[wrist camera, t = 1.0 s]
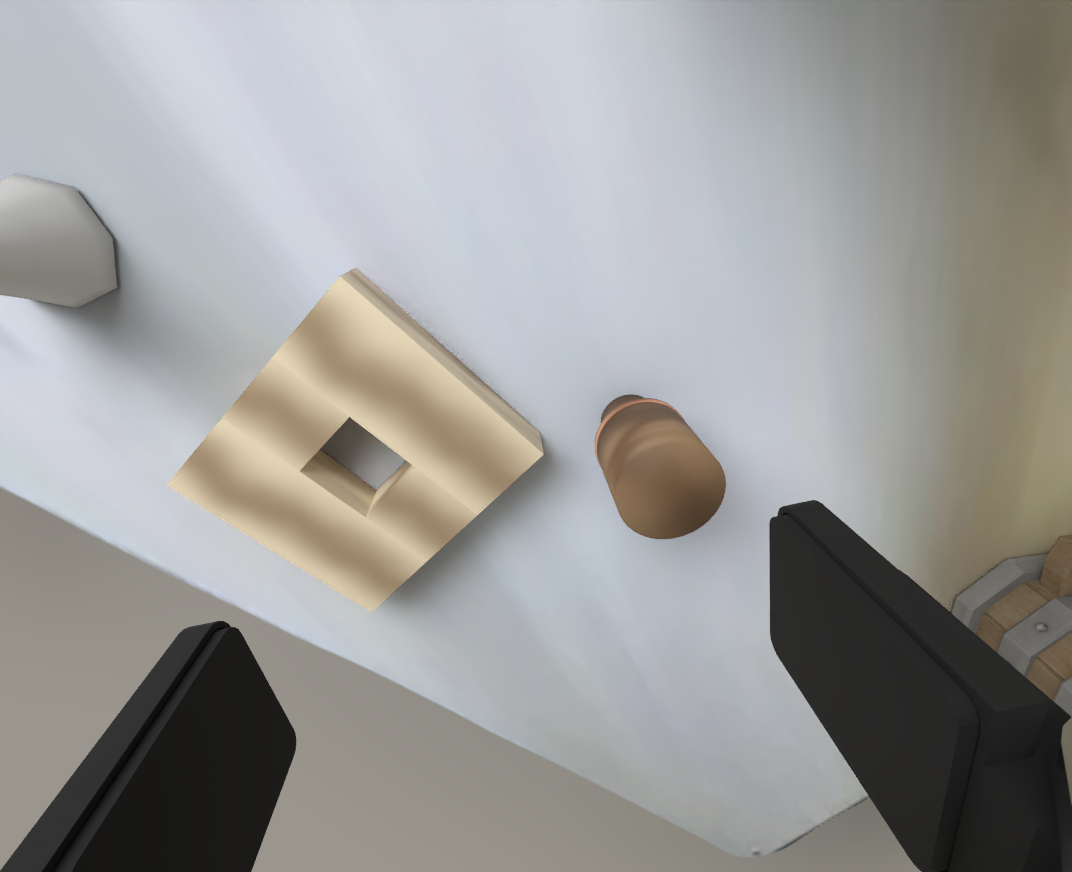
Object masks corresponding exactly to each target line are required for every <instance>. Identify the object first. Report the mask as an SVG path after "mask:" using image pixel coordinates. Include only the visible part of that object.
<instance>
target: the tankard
mask: <svg viewBox="0 0 1072 872" xmlns="http://www.w3.org/2000/svg"><path fill="white" fill-rule="evenodd" d="M952 614H953V615H954V616H955V617H956V618H957V619H958V620H960V621H961V622H962V623H963V624H964V625H965V626H967V627H968V628H969V629H970V630H971V631H972V632H974V633H975V634H976V635H977V636H978V637H979V638H981V639H982V640H983V641H984V642H985V643H986V644H988V645H989V646H990V647H991V648H992V649H993V650H995V651H996V652H997V653H998V654H999V655H1000V656H1001V657H1003V658H1004V659H1005V660H1006V661H1007V662H1008V663H1010V664H1011V665H1012V666H1013V667H1014V668H1015V669H1017V670H1018V671H1019V672H1020V673H1021V674H1022V675H1024V676H1025V677H1026V678H1027V679H1028V680H1029V681H1031V682H1032V683H1033V684H1034V685H1035V686H1036V687H1038V688H1039V689H1040V690H1041V691H1042V692H1043V693H1044V694H1046V695H1047V696H1048V697H1049V698H1050V699H1051V700H1053V701H1054V702H1055V703H1056V704H1057V705H1058V706H1060V707H1061V708H1062V709H1063V710H1064V711H1065V712H1067V713H1068V714H1069V715H1070V716H1071V717H1072V535H1066V536H1060V537H1059V538H1058V540H1057V541H1056V543H1055V544H1054V546H1053V547H1052V549H1051V550H1050V552H1049V553H1047V554H1040V555H1033V556H1026V557H1019V558H1013V559H1006V560H1004V561H1003V562H1001V563H1000V564H999V565H997V566H996V567H995V568H993V569H992V570H991V571H989V572H988V573H987V574H985V575H984V576H983V577H981V578H980V579H979V580H977V581H976V582H975V583H973V584H972V585H971V586H969V587H968V588H967V589H965V590H964V591H963V592H961V593H960V594H959V595H957V596H956V599H955V603H954V606H953V609H952Z"/></svg>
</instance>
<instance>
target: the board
mask: <svg viewBox="0 0 1072 872" xmlns="http://www.w3.org/2000/svg"><path fill="white" fill-rule="evenodd" d="M349 417H350V418H352V419H353V420H354V421H355V422H357V423H358V424H359V425H361V426H362V427H363V428H365V429H366V430H367V431H368V432H370V433H371V434H372V435H374V436H375V437H376V438H378V439H379V440H380V441H382V442H383V443H384V444H385V445H387V446H388V447H389V448H391V449H392V450H393V451H395V452H396V453H397V454H398V455H400V456H401V457H402V458H404V459H405V460H406V462H405V463H404V464H403V465H402V466H401V467H400V468H399V469H398V470H397V471H396V472H395V473H394V474H393V475H392V476H391V477H390V478H389V479H388V480H387V481H386V482H385V483H384V484H383V485H382V486H381V487H380V488H379V489H378V490H377V491H376V490H375V489H374V488H372V487H371V486H369V485H368V484H367V483H365V482H364V481H363V480H361V479H360V478H358V477H357V476H356V475H354V474H353V473H352V472H350V471H349V470H347V469H346V468H345V467H343V466H342V465H340V464H339V463H338V462H336V461H335V460H334V459H332V458H331V457H329V456H328V455H327V454H325V453H324V452H323V451H321V450H320V448H321V447H322V446H323V445H324V444H325V443H326V442H327V441H328V440H329V439H330V437H331V436H332V435H333V434H334V433H335V432H336V431H337V430H338V429H339V428H340V427H341V426H342V424H343V423H344V422H345V421H346V420H347V419H348V418H349ZM543 455H544V452H543V446H542V441H541V436H540V432H539V431H538V430H537V429H536V428H535V427H533V426H532V425H531V424H530V423H529V422H528V421H527V420H526V419H525V418H523V417H522V416H521V415H520V414H519V413H518V412H517V411H516V410H514V409H513V408H512V407H511V406H510V405H509V404H508V403H507V402H505V401H504V400H503V399H502V398H501V397H500V396H499V395H498V394H497V393H495V392H494V391H493V390H492V389H491V388H490V387H489V386H488V385H486V384H485V383H484V382H483V381H482V380H481V379H480V378H479V377H477V376H476V375H475V374H474V373H473V372H472V371H471V370H470V369H468V368H467V367H466V366H465V365H464V364H463V363H462V362H461V361H460V360H458V359H457V358H456V357H455V356H454V355H453V354H452V353H451V352H449V351H448V350H447V349H446V348H445V347H444V346H443V345H442V344H440V343H439V342H438V341H437V340H436V339H435V338H434V337H433V336H431V335H430V334H429V333H428V332H427V331H426V330H425V329H424V328H423V327H421V326H420V325H419V324H418V323H417V322H416V321H415V320H414V319H412V318H411V317H410V316H409V315H408V314H407V313H406V312H405V311H403V310H402V309H401V308H400V307H399V306H398V305H397V304H396V303H395V302H393V301H392V300H391V299H390V298H389V297H388V296H387V295H386V294H384V293H383V292H382V291H381V290H380V289H379V288H378V287H377V286H375V285H374V284H373V283H372V282H371V281H370V280H369V279H368V278H366V277H365V276H364V275H363V274H362V273H361V272H360V271H359V270H358V269H356V268H354V269H352V270H351V271H349V272H347V273H345V274H343V275H341V276H339V278H338V279H337V280H336V281H335V283H334V284H333V285H332V286H331V287H330V289H329V290H328V291H327V292H326V293H325V295H324V296H323V297H322V298H321V299H320V301H319V302H318V303H317V304H316V305H315V307H314V308H313V309H312V310H311V311H310V313H309V314H308V315H307V316H306V317H305V319H304V320H303V321H302V322H301V324H300V325H299V326H298V327H297V328H296V330H295V331H294V332H293V333H292V334H291V336H290V337H289V338H288V339H287V340H286V342H285V343H284V344H283V345H282V346H281V348H280V349H279V350H278V351H277V352H276V354H275V355H274V356H273V357H272V359H271V360H270V361H269V362H268V363H267V365H266V366H265V367H264V368H263V369H262V371H261V372H260V373H259V374H258V375H257V377H256V378H255V379H254V380H253V381H252V383H251V384H250V385H249V386H248V387H247V389H246V390H245V391H244V392H243V393H242V395H241V396H240V397H239V398H238V400H237V401H236V402H235V403H234V404H233V406H232V407H231V408H230V409H229V410H228V412H227V413H226V414H225V415H224V416H223V418H222V419H221V420H220V421H219V422H218V424H217V425H216V426H215V427H214V428H213V430H212V431H211V432H210V433H209V434H208V436H207V437H206V438H205V439H204V441H203V442H202V443H201V444H200V445H199V447H198V448H197V449H196V450H195V451H194V453H193V454H192V455H191V456H190V457H189V459H188V460H187V461H186V462H185V463H184V465H183V466H182V467H181V468H180V469H179V471H178V472H177V473H176V474H175V476H174V477H173V478H172V479H171V480H170V482H169V483H168V484H167V486H169V487H170V488H172V489H174V490H175V491H177V492H178V493H180V494H182V495H183V496H185V497H186V498H188V499H190V500H191V501H193V502H194V503H196V504H198V505H199V506H201V507H203V508H204V509H206V510H207V511H209V512H211V513H212V514H214V515H215V516H217V517H219V518H220V519H222V520H223V521H225V522H227V523H228V524H230V525H232V526H233V527H235V528H236V529H238V530H240V531H241V532H243V533H244V534H246V535H248V536H249V537H251V538H252V539H254V540H256V541H257V542H259V543H261V544H262V545H264V546H265V547H267V548H269V549H270V550H272V551H273V552H275V553H277V554H278V555H280V556H281V557H283V558H285V559H286V560H288V561H289V562H291V563H293V564H294V565H296V566H298V567H299V568H301V569H302V570H304V571H306V572H307V573H309V574H310V575H312V576H314V577H315V578H317V579H318V580H320V581H322V582H323V583H325V584H327V585H328V586H330V587H331V588H333V589H335V590H336V591H338V592H339V593H341V594H343V595H344V596H346V597H347V598H349V599H351V600H352V601H354V602H355V603H357V604H359V605H360V606H362V607H364V608H365V609H367V610H368V611H370V612H372V611H373V610H374V609H375V608H377V607H378V606H379V605H380V604H381V603H382V602H383V601H384V600H385V599H386V598H387V597H389V596H390V595H391V594H392V593H393V592H394V591H395V590H396V589H397V588H398V587H400V586H401V585H402V584H403V583H404V582H405V581H406V580H407V579H408V578H409V577H410V576H412V575H413V574H414V573H415V572H416V571H417V570H418V569H419V568H420V567H421V566H422V565H424V564H425V563H426V562H427V561H428V560H429V559H430V558H431V557H432V556H433V555H434V554H436V553H437V552H438V551H439V550H440V549H441V548H442V547H443V546H444V545H445V544H447V543H448V542H449V541H450V540H451V539H452V538H453V537H454V536H455V535H456V534H457V533H459V532H460V531H461V530H462V529H463V528H464V527H465V526H466V525H467V524H468V523H469V522H471V521H472V520H473V519H474V518H475V517H476V516H477V515H478V514H479V513H480V512H482V511H483V510H484V509H485V508H486V507H487V506H488V505H489V504H490V503H491V502H492V501H494V500H495V499H496V498H497V497H498V496H499V495H500V494H501V493H502V492H503V491H504V490H506V489H507V488H508V487H509V486H510V485H511V484H512V483H513V482H514V481H515V480H516V479H518V478H519V477H520V476H521V475H522V474H523V473H524V472H525V471H526V470H527V469H529V468H530V467H531V466H532V465H533V464H534V463H535V462H536V461H537V460H538V459H539V458H541V457H542V456H543Z"/></svg>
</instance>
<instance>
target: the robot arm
mask: <svg viewBox="0 0 1072 872" xmlns="http://www.w3.org/2000/svg"><path fill="white" fill-rule="evenodd" d="M770 636H771V641H772V644H773V647H774V649H775V652H776V654H777V655H778V657H779V659H780V660H781V662H782V663H783V665H784V666H785V668H786V670H787V671H788V673H789V674H790V676H791V677H792V679H793V680H794V682H795V683H796V685H797V686H798V688H799V689H800V691H801V693H802V694H803V696H804V697H805V699H806V700H807V702H808V703H809V705H810V706H811V708H812V709H813V711H814V712H815V714H816V716H817V717H818V719H819V720H820V722H821V723H822V725H823V726H824V728H825V729H826V731H827V732H828V734H829V735H830V737H831V739H832V740H833V742H834V743H835V745H836V746H837V748H838V749H839V751H840V752H841V754H842V755H843V757H844V758H845V760H846V762H847V763H848V765H849V766H850V768H851V769H852V771H853V772H854V774H855V775H856V777H857V778H858V780H859V781H860V783H861V785H862V786H863V788H864V789H865V791H866V792H867V794H868V795H869V797H870V798H871V800H872V801H873V803H874V804H875V806H876V808H877V809H878V811H879V812H880V814H881V815H882V817H883V818H884V820H885V821H886V823H887V824H888V826H889V827H890V829H891V830H892V832H893V834H894V835H895V837H896V838H897V840H898V841H899V843H900V844H901V846H902V847H903V849H904V850H905V852H906V854H907V855H908V857H909V858H910V859H911V861H912V862H913V863H914V865H915V866H916V867H917V868H918V869H919V870H920V871H922V872H1072V717H1071V716H1070V715H1069V714H1068V713H1067V712H1065V711H1064V710H1063V709H1062V708H1061V707H1060V706H1058V705H1057V704H1056V703H1055V702H1054V701H1053V700H1051V699H1050V698H1049V697H1048V696H1047V695H1046V694H1044V693H1043V692H1042V691H1041V690H1040V689H1039V688H1038V687H1036V686H1035V685H1034V684H1033V683H1032V682H1031V681H1029V680H1028V679H1027V678H1026V677H1025V676H1024V675H1022V674H1021V673H1020V672H1019V671H1018V670H1017V669H1015V668H1014V667H1013V666H1012V665H1011V664H1010V663H1008V662H1007V661H1006V660H1005V659H1004V658H1003V657H1001V656H1000V655H999V654H998V653H997V652H996V651H995V650H993V649H992V648H991V647H990V646H989V645H988V644H986V643H985V642H984V641H983V640H982V639H981V638H979V637H978V636H977V635H976V634H975V633H974V632H972V631H971V630H970V629H969V628H968V627H967V626H965V625H964V624H963V623H962V622H961V621H960V620H958V619H957V618H956V617H955V616H954V615H953V614H952V613H950V612H949V611H948V610H947V609H946V608H945V607H943V606H942V605H941V604H940V603H939V602H938V601H936V600H935V599H934V598H933V597H932V596H931V595H929V594H928V593H927V592H926V591H925V590H924V589H922V588H921V587H920V586H919V585H918V584H917V583H915V582H914V581H913V580H912V579H911V578H910V577H909V576H907V575H906V574H904V573H903V572H901V571H900V570H898V569H897V568H896V567H894V566H893V565H892V564H891V563H890V562H889V561H888V560H886V559H885V558H884V557H883V556H882V555H881V554H879V553H878V552H877V551H876V550H875V549H874V548H873V547H871V546H870V545H869V544H868V543H867V542H866V541H864V540H863V539H862V538H861V537H860V536H859V535H858V534H856V533H855V532H854V531H853V530H852V529H851V528H849V527H848V526H847V525H846V524H845V523H844V522H842V521H841V520H840V519H839V518H838V517H837V516H836V515H834V514H833V513H832V512H831V511H830V510H829V509H827V508H826V507H825V506H824V505H823V504H822V503H820V502H818V501H815V500H812V501H807V502H802V503H797V504H792V505H787V506H783V507H781V508H780V509H779V511H778V516H776V517H773V518H771V520H770ZM295 750H296V735H295V731H294V729H293V727H292V725H291V724H290V722H289V720H288V718H287V716H286V714H285V713H284V711H283V709H282V707H281V705H280V703H279V701H278V700H277V698H276V696H275V694H274V692H273V690H272V689H271V687H270V685H269V683H268V681H267V680H266V678H265V676H264V674H263V672H262V670H261V668H260V667H259V665H258V663H257V661H256V659H255V657H254V656H253V654H252V652H251V650H250V648H249V646H248V645H247V643H246V641H245V639H244V637H243V636H242V634H241V632H240V631H239V629H237V628H235V627H230V625H229V624H228V623H226V622H224V621H217V622H213V623H207V624H203V625H197V626H192V627H189V628H186V629H184V630H183V631H182V632H180V633H179V634H178V636H177V637H176V638H175V640H174V641H173V643H172V644H171V645H170V646H169V648H168V649H167V650H166V652H165V653H164V654H163V656H162V657H161V658H160V660H159V661H158V662H157V664H156V665H155V667H154V668H153V669H152V670H151V672H150V673H149V674H148V676H147V677H146V678H145V680H144V681H143V682H142V684H141V685H140V686H139V687H138V689H137V690H136V691H135V693H134V694H133V695H132V697H131V698H130V700H129V701H128V702H127V703H126V705H125V706H124V707H123V709H122V710H121V711H120V713H119V714H118V716H117V717H116V718H115V719H114V721H113V722H112V723H111V725H110V726H109V727H108V729H107V730H106V731H105V733H104V734H103V735H102V737H101V738H100V739H99V741H98V742H97V743H96V745H95V746H94V747H93V748H92V750H91V751H90V753H89V754H88V755H87V757H86V758H85V759H84V760H83V762H82V763H81V765H80V766H79V767H78V768H77V770H76V771H75V772H74V774H73V775H72V776H71V778H70V779H69V780H68V782H67V783H66V784H65V786H64V787H63V788H62V790H61V791H60V793H59V794H58V795H57V796H56V798H55V799H54V800H53V801H52V803H51V804H50V806H49V807H48V808H47V809H46V811H45V812H44V813H43V815H42V816H41V817H40V819H39V820H38V821H37V823H36V824H35V825H34V827H33V828H32V829H31V831H30V832H29V833H28V835H27V836H26V837H25V839H24V840H23V841H22V843H21V844H20V845H19V847H18V848H17V849H16V851H15V852H14V853H13V855H12V856H11V857H10V859H9V860H8V861H7V863H6V864H5V865H4V866H3V868H2V869H1V871H0V872H251V871H252V868H253V865H254V862H255V860H256V857H257V854H258V851H259V849H260V846H261V843H262V841H263V838H264V835H265V832H266V830H267V827H268V825H269V822H270V819H271V816H272V814H273V811H274V808H275V806H276V803H277V800H278V797H279V795H280V792H281V789H282V787H283V784H284V781H285V779H286V776H287V773H288V770H289V768H290V765H291V762H292V760H293V756H294V753H295Z"/></svg>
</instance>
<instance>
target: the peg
mask: <svg viewBox="0 0 1072 872" xmlns="http://www.w3.org/2000/svg"><path fill="white" fill-rule="evenodd" d="M595 453H596V457H597V460H598V462H599V464H600V466H601V468H602V470H603V473H604V475H605V478H606V481H607V483H608V486H609V488H610V491H611V494H612V496H613V499H614V501H615V504H616V506H617V509H618V512H619V514H620V516H621V518H622V519H623V521H624V522H625V524H626V525H627V526H628V527H629V528H631V529H632V530H633V531H635V532H637V533H638V534H640V535H643V536H645V537H649V538H655V539H671V538H676V537H680V536H684V535H686V534H689V533H691V532H693V531H695V530H697V529H698V528H700V527H701V526H703V525H704V524H705V523H706V522H707V521H709V520H710V519H711V517H712V516H713V515H714V514H715V513H716V511H717V510H718V508H719V506H720V505H721V502H722V500H723V497H724V493H725V487H726V482H725V475H724V472H723V469H722V467H721V465H720V463H719V462H718V461H717V459H716V458H715V457H714V456H713V455H712V453H711V452H710V451H709V450H708V449H707V447H706V446H705V445H704V444H703V443H702V441H701V440H700V439H699V438H698V437H697V435H696V434H695V433H694V432H693V431H692V429H691V428H690V427H689V426H688V425H687V423H686V422H685V421H684V419H683V418H682V416H681V415H680V414H679V413H678V411H677V410H676V409H674V408H673V407H672V406H671V405H669V404H667V403H665V402H663V401H660V400H657V399H650V398H643V397H641V396H638V395H624V396H621V397H618V398H616V399H615V400H613V401H612V402H611V403H609V405H608V406H607V407H606V408H605V410H604V412H603V414H602V417H601V424H600V426H599V428H598V431H597V434H596V437H595Z"/></svg>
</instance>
